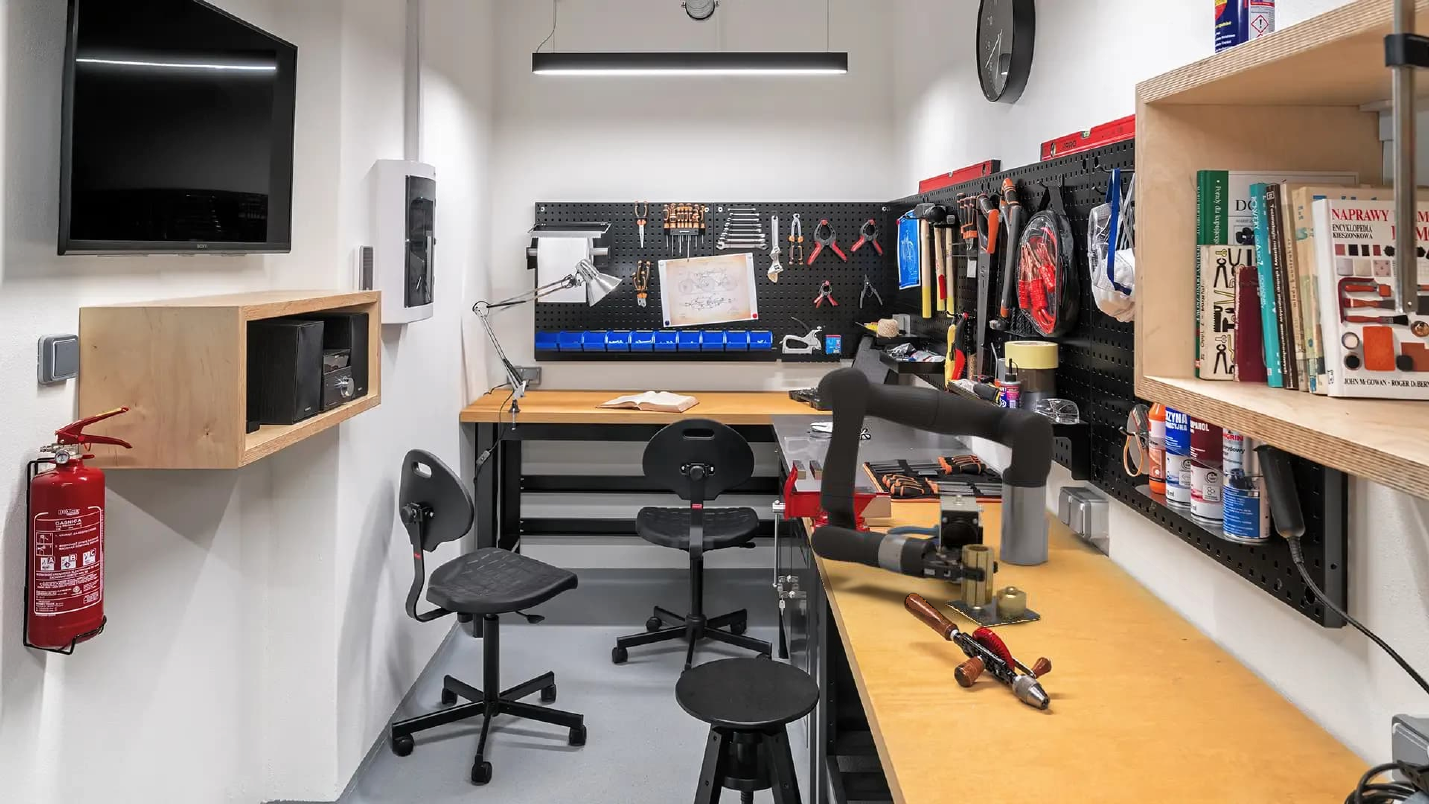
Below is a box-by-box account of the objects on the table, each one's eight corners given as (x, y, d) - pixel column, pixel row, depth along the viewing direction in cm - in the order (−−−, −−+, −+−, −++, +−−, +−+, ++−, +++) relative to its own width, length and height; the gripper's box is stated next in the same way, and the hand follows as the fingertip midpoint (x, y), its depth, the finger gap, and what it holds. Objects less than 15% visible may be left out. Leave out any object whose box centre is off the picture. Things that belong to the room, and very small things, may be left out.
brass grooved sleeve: (967, 593, 180) (969, 542, 179) (997, 599, 177) (999, 547, 175) (955, 601, 176) (957, 549, 174) (985, 607, 172) (987, 555, 171)
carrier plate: (1001, 598, 183) (1002, 573, 182) (1040, 619, 172) (1041, 593, 171) (947, 605, 180) (948, 580, 179) (983, 627, 168) (984, 600, 168)
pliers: (968, 546, 219) (968, 521, 218) (971, 548, 217) (972, 523, 216) (885, 550, 216) (885, 525, 215) (888, 553, 214) (889, 528, 213)
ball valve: (984, 594, 185) (986, 506, 183) (939, 591, 187) (941, 504, 185) (978, 567, 203) (981, 486, 201) (938, 565, 205) (940, 485, 202)
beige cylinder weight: (1014, 608, 176) (1015, 582, 175) (1031, 617, 171) (1032, 591, 170) (990, 611, 174) (991, 585, 173) (1007, 621, 169) (1008, 594, 168)
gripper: (890, 545, 178) (976, 561, 168) (923, 529, 189) (1006, 543, 179) (889, 584, 179) (975, 602, 169) (922, 565, 190) (1004, 581, 180)
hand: (990, 571), depth 174 cm, fingers closed on brass grooved sleeve, 5 cm apart
